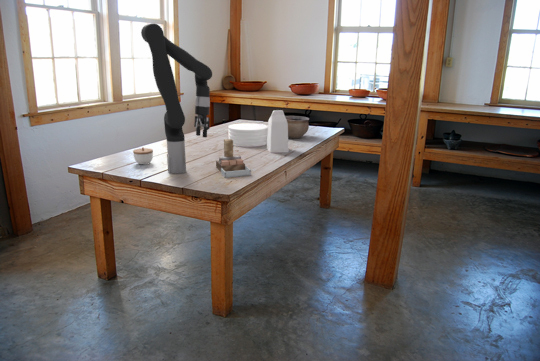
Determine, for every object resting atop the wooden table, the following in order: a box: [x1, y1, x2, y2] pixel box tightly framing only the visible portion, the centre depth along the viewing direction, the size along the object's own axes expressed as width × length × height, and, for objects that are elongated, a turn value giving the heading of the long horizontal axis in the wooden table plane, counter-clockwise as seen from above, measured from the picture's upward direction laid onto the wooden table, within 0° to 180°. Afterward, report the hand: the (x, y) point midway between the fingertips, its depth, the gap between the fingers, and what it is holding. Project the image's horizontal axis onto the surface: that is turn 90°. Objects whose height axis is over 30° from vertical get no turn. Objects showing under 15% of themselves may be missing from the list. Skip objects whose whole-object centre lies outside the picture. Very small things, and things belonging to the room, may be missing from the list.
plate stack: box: [227, 122, 268, 148], centre depth 304 cm, size 28×28×12 cm
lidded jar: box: [132, 146, 154, 165], centre depth 246 cm, size 11×11×9 cm
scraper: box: [218, 138, 242, 164], centre depth 235 cm, size 12×6×12 cm, turn 111°
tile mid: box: [228, 160, 236, 165], centre depth 232 cm, size 4×4×2 cm
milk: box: [266, 109, 289, 154], centre depth 278 cm, size 12×12×26 cm
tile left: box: [221, 160, 229, 166], centre depth 230 cm, size 4×4×2 cm
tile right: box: [235, 158, 244, 164], centre depth 233 cm, size 4×4×2 cm
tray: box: [220, 165, 252, 178], centre depth 227 cm, size 14×8×3 cm, turn 111°
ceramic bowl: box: [285, 115, 310, 139], centre depth 322 cm, size 22×22×15 cm
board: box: [215, 160, 246, 173], centre depth 236 cm, size 13×12×4 cm
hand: (201, 136), depth 230 cm, fingers open, 8 cm apart
